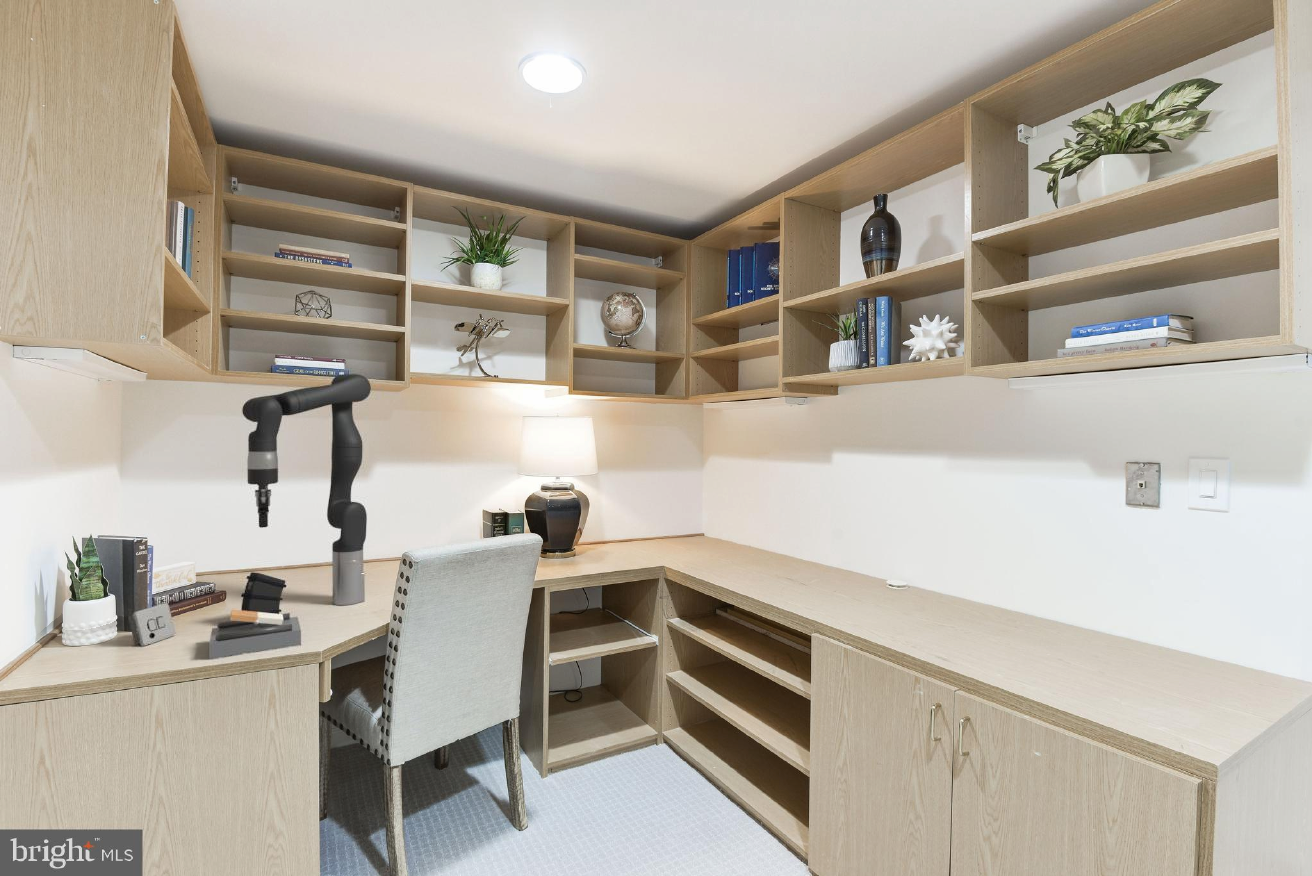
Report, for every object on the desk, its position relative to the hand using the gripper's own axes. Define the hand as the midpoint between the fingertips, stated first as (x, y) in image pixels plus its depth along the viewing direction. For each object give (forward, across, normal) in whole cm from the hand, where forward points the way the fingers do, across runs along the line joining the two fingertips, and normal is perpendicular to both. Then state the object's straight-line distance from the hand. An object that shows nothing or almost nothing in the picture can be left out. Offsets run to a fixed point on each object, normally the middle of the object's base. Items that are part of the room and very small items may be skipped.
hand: (263, 526), depth 185 cm
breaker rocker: (+22, -16, +2) cm, 28 cm away
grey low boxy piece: (+29, -16, +2) cm, 33 cm away
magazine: (+29, +7, 0) cm, 30 cm away
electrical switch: (+29, +2, +26) cm, 39 cm away
